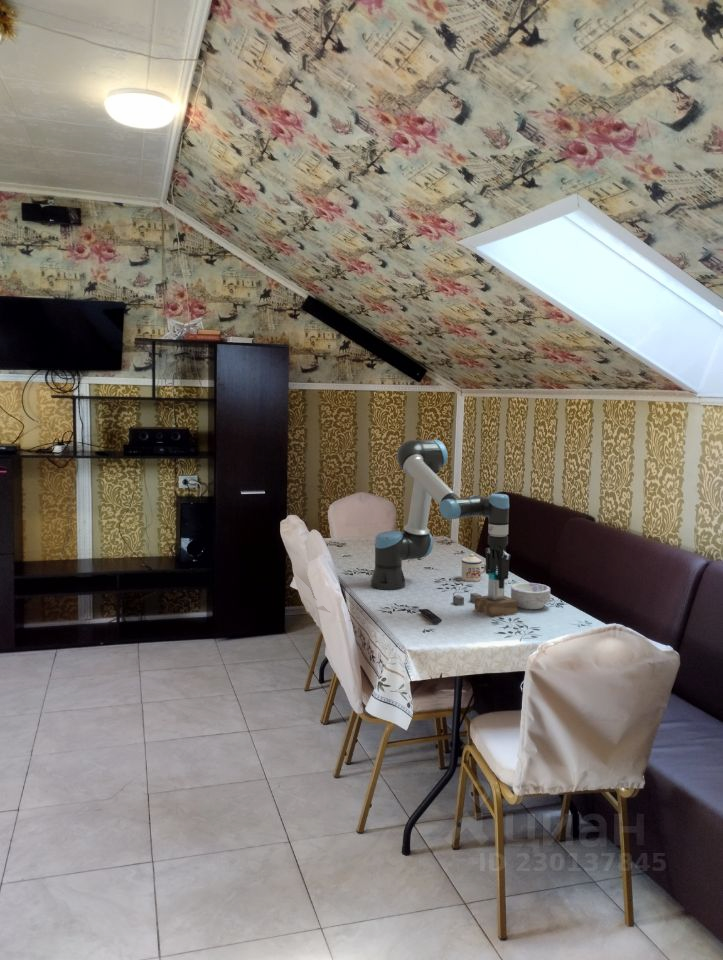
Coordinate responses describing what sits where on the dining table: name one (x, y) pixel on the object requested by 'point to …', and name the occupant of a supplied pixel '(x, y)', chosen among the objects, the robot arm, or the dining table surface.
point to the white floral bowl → (530, 595)
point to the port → (495, 606)
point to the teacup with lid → (472, 568)
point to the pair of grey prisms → (460, 600)
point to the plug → (494, 587)
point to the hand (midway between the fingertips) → (496, 594)
